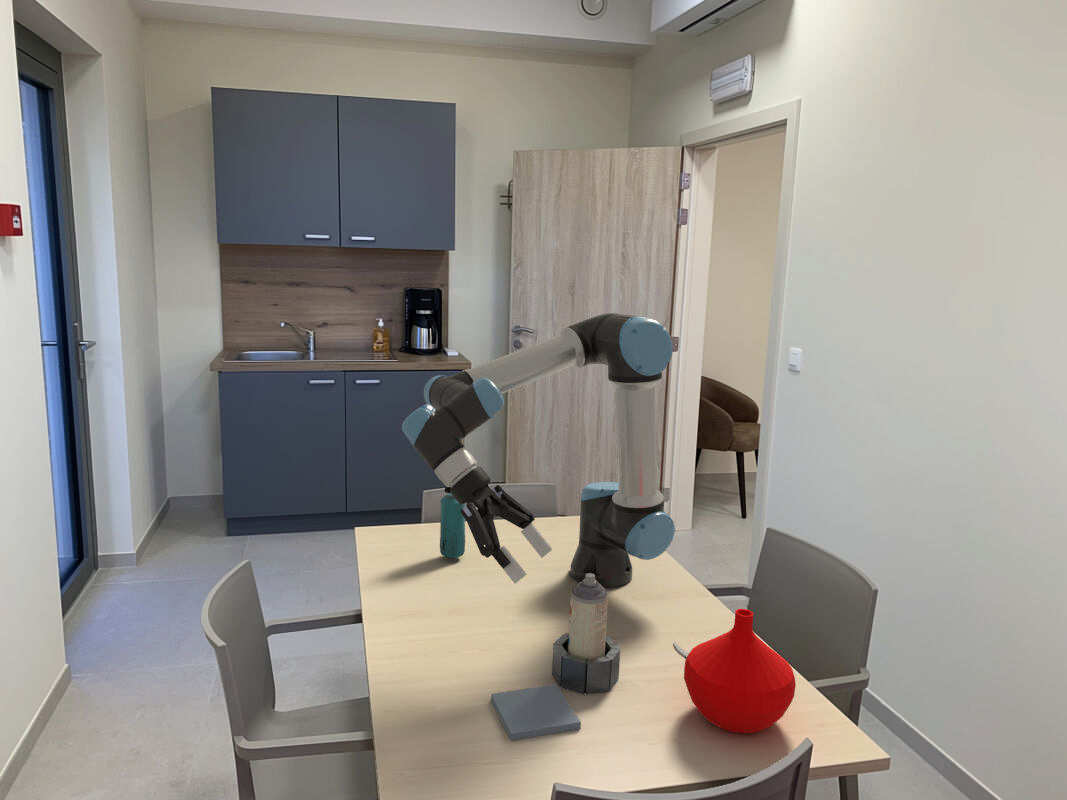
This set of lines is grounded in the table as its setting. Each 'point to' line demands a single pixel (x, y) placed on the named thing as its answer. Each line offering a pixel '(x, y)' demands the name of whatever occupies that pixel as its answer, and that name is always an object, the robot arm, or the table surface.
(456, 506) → the beverage bottle
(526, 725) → the rubber mat
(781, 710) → the vase
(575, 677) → the ring
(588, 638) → the aerosol can
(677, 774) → the table surface
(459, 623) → the table surface
